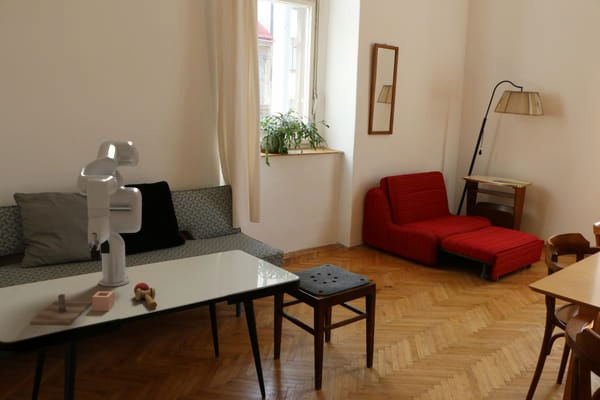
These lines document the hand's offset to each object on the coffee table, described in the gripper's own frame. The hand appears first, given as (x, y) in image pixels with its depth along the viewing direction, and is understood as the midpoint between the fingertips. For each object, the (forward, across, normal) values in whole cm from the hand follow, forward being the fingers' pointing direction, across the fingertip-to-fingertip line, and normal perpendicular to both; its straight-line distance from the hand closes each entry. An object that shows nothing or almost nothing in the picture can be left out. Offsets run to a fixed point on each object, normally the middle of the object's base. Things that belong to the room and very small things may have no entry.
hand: (100, 256), depth 198 cm
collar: (+20, 0, 0) cm, 20 cm away
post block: (+20, +6, -13) cm, 25 cm away
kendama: (+21, -8, +14) cm, 26 cm away
